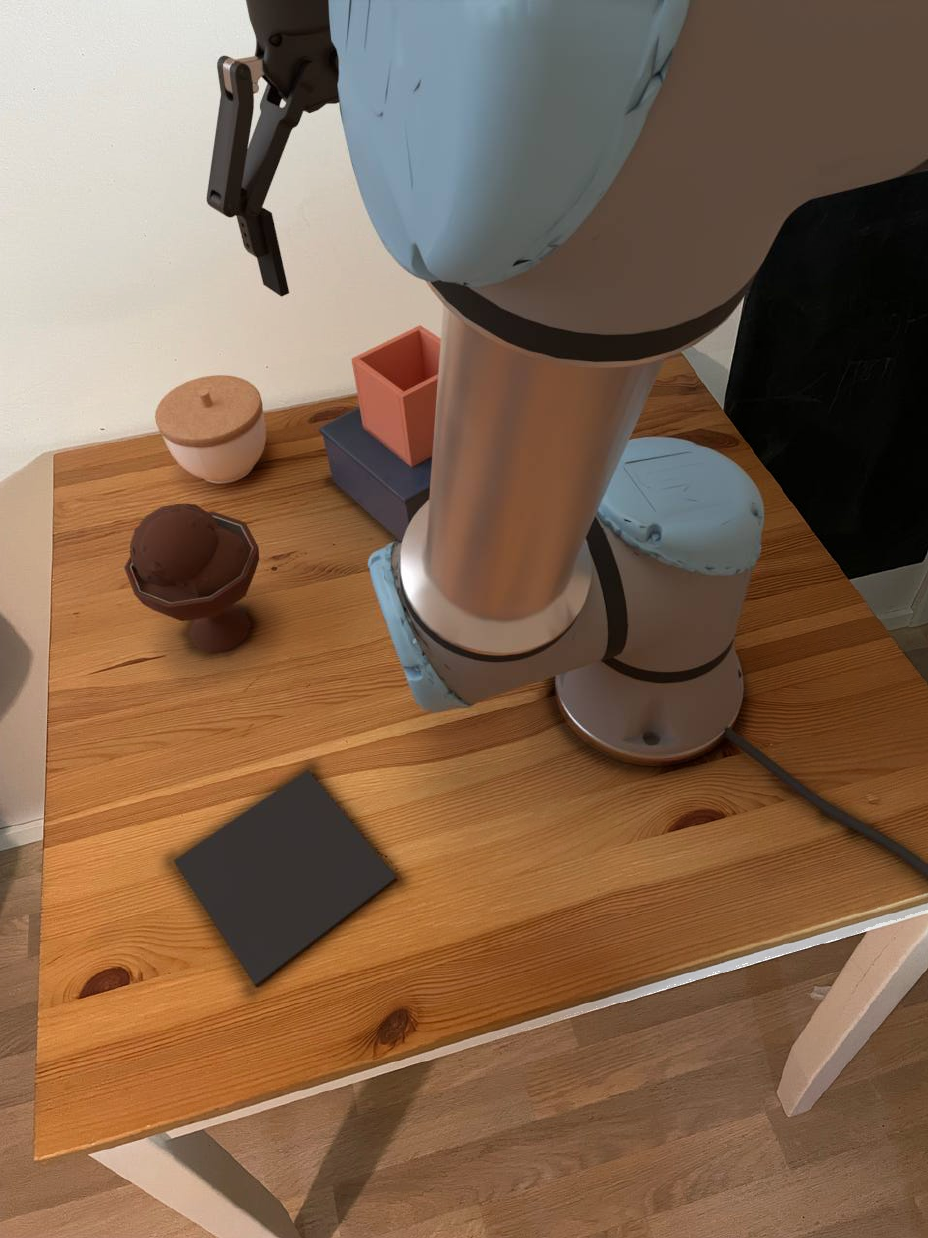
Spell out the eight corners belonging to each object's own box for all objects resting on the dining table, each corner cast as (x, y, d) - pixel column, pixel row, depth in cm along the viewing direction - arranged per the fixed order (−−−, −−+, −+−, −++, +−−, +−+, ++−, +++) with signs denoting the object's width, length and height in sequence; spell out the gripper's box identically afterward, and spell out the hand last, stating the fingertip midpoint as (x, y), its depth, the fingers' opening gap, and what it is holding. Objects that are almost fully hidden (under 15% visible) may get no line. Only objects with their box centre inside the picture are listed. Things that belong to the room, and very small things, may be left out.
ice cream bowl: (304, 624, 84) (269, 502, 73) (203, 698, 79) (148, 579, 68) (235, 567, 89) (192, 445, 78) (136, 634, 84) (75, 513, 73)
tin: (524, 486, 94) (523, 431, 89) (412, 554, 89) (404, 500, 84) (437, 422, 102) (432, 368, 97) (329, 481, 97) (318, 427, 91)
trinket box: (286, 434, 102) (268, 361, 95) (263, 500, 95) (241, 427, 88) (193, 432, 103) (168, 360, 96) (163, 497, 96) (134, 425, 89)
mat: (397, 879, 68) (396, 877, 67) (256, 987, 63) (254, 985, 63) (308, 771, 74) (307, 769, 74) (175, 862, 69) (173, 860, 69)
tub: (477, 430, 90) (473, 360, 83) (411, 467, 86) (402, 397, 80) (427, 394, 94) (420, 324, 88) (362, 428, 91) (350, 358, 85)
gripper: (407, -98, 68) (431, 193, 84) (96, -12, 58) (191, 298, 74) (474, -83, 64) (486, 219, 80) (152, 12, 54) (240, 334, 70)
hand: (344, 258), depth 77 cm, fingers open, 13 cm apart
